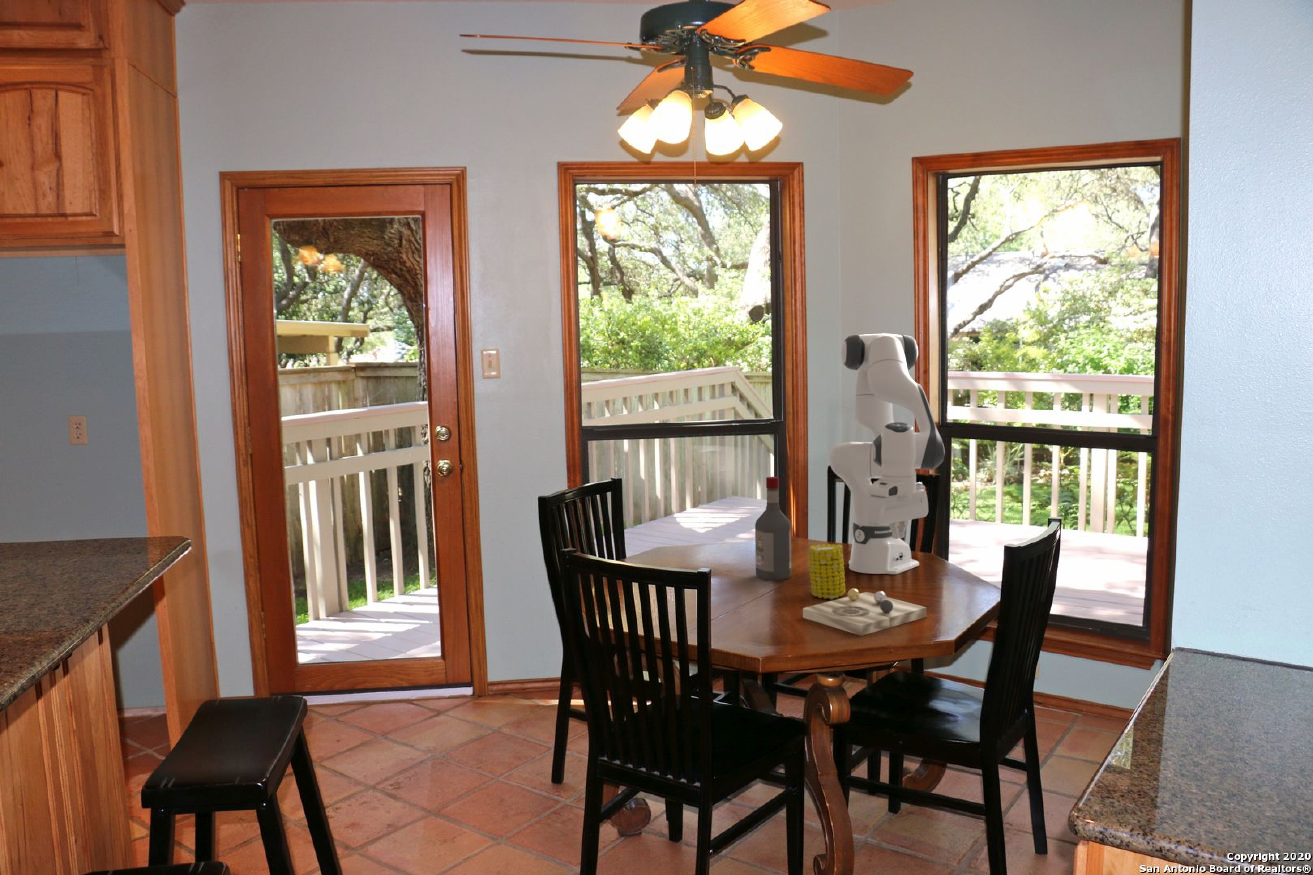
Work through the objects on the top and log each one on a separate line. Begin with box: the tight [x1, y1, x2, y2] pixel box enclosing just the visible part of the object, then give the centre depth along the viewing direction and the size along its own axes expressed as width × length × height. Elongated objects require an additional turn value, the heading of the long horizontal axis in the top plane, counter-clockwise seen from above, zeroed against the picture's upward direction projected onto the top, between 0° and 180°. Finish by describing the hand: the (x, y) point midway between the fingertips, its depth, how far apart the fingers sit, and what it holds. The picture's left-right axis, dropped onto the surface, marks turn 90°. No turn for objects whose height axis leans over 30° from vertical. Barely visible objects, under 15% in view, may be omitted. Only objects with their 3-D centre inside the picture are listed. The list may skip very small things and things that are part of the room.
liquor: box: [754, 476, 792, 582], centre depth 301 cm, size 9×9×30 cm
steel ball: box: [874, 590, 888, 604], centre depth 262 cm, size 3×3×3 cm
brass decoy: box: [846, 588, 860, 601], centre depth 266 cm, size 3×3×3 cm
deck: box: [802, 591, 927, 636], centre depth 259 cm, size 24×20×2 cm
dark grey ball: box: [880, 600, 893, 613], centre depth 254 cm, size 3×3×3 cm
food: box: [808, 543, 846, 601], centre depth 280 cm, size 15×12×10 cm
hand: (898, 537), depth 265 cm, fingers closed
